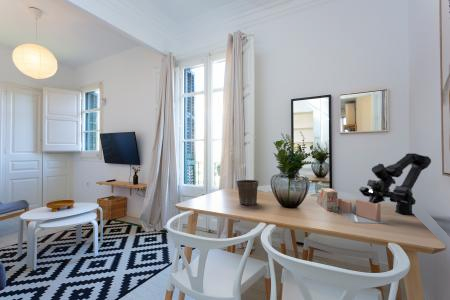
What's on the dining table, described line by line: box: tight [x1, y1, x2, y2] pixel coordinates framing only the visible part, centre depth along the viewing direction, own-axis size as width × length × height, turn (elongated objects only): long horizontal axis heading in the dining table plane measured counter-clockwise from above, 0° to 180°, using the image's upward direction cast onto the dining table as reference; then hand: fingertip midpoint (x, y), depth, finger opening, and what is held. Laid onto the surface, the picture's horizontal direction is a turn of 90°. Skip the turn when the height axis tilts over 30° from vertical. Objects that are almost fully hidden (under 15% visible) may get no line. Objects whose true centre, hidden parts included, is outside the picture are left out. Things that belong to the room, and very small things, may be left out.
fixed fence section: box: [337, 198, 353, 213], centre depth 133 cm, size 9×2×7 cm, turn 18°
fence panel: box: [352, 199, 382, 222], centre depth 120 cm, size 16×3×9 cm, turn 18°
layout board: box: [337, 210, 387, 224], centre depth 124 cm, size 15×25×1 cm, turn 173°
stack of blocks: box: [316, 187, 339, 212], centre depth 145 cm, size 21×6×12 cm, turn 173°
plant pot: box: [236, 179, 260, 206], centre depth 157 cm, size 16×16×16 cm
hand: (369, 205), depth 119 cm, fingers closed
